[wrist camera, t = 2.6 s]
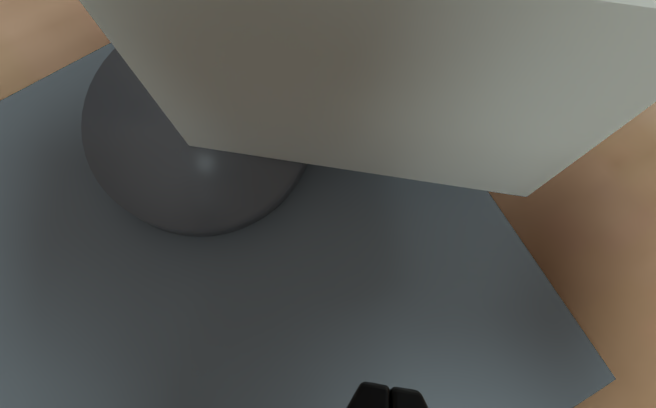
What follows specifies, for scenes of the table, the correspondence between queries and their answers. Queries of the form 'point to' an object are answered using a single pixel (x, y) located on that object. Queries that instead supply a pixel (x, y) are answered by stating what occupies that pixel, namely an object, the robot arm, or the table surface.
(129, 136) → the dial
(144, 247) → the dial plate
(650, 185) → the table surface
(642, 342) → the table surface
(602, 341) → the table surface
